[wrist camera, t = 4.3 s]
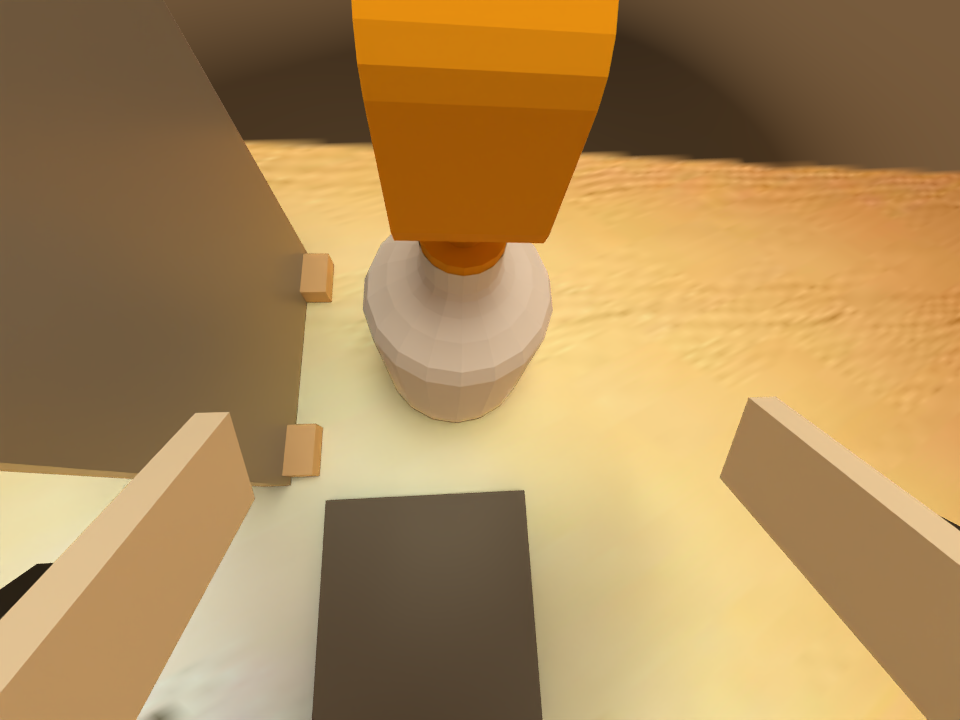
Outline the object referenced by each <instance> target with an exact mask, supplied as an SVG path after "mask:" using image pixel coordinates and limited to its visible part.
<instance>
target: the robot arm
mask: <svg viewBox="0 0 960 720" xmlns="http://www.w3.org/2000/svg"><path fill="white" fill-rule="evenodd" d="M720 479H721V480H722V481H723V482H724V483H725V484H726V486H727V487H728V488H729V489H730V490H731V491H732V493H733V494H734V495H735V496H736V497H737V498H738V499H739V501H740V502H741V503H742V504H743V505H744V506H745V508H746V509H747V510H748V511H749V512H750V513H751V515H752V516H753V517H754V518H755V519H756V520H757V522H758V523H759V524H760V525H761V526H762V527H763V529H764V530H765V531H766V532H767V533H768V534H769V536H770V537H771V538H772V539H773V540H774V541H775V543H776V544H777V545H778V546H779V547H780V548H781V550H782V551H783V552H784V553H785V554H786V555H787V557H788V558H789V559H790V560H791V561H792V562H793V564H794V565H795V566H796V567H797V568H798V569H799V571H800V572H801V573H802V574H803V575H804V576H805V578H806V579H807V580H808V581H809V582H810V583H811V585H812V586H813V587H814V588H815V589H816V590H817V592H818V593H819V594H820V595H821V596H822V597H823V598H824V600H825V601H826V602H827V603H828V604H829V605H830V607H831V608H832V609H833V610H834V611H835V612H836V614H837V615H838V616H839V617H840V618H841V619H842V621H843V622H844V623H845V624H846V625H847V626H848V628H849V629H850V630H851V631H852V632H853V633H854V635H855V636H856V637H857V638H858V639H859V640H860V642H861V643H862V644H863V645H864V646H865V647H866V649H867V650H868V651H869V652H870V653H871V654H872V656H873V657H874V658H875V659H876V660H877V661H878V663H879V664H880V665H881V666H882V667H883V668H884V670H885V671H886V672H887V673H888V674H889V675H890V677H891V678H892V679H893V680H894V681H895V682H896V684H897V685H898V686H899V687H900V688H901V689H902V691H903V692H904V693H905V694H906V695H907V696H908V698H909V699H910V700H911V701H912V702H913V703H914V704H915V706H916V707H917V708H918V709H919V710H920V711H921V713H922V714H923V715H924V716H925V717H926V718H927V720H960V526H958V525H956V524H954V523H952V522H950V521H948V520H947V519H945V518H943V517H941V516H939V515H937V514H936V513H935V512H933V511H932V510H931V509H929V508H928V507H926V506H925V505H924V504H922V503H921V502H920V501H918V500H917V499H915V498H914V497H913V496H911V495H910V494H909V493H907V492H906V491H904V490H903V489H902V488H900V487H899V486H898V485H896V484H895V483H893V482H892V481H891V480H889V479H888V478H887V477H885V476H884V475H883V474H881V473H880V472H878V471H877V470H876V469H874V468H873V467H872V466H870V465H869V464H867V463H866V462H865V461H863V460H862V459H861V458H859V457H858V456H856V455H855V454H854V453H852V452H851V451H850V450H848V449H847V448H845V447H844V446H843V445H841V444H840V443H839V442H837V441H836V440H834V439H833V438H832V437H830V436H829V435H828V434H826V433H825V432H823V431H822V430H821V429H819V428H818V427H817V426H815V425H814V424H813V423H811V422H810V421H808V420H807V419H806V418H804V417H803V416H802V415H800V414H799V413H797V412H796V411H795V410H793V409H792V408H791V407H789V406H788V405H786V404H785V403H784V402H782V401H781V400H780V399H778V398H777V397H749V398H748V401H747V404H746V406H745V409H744V412H743V415H742V417H741V420H740V423H739V426H738V428H737V431H736V434H735V437H734V439H733V442H732V445H731V448H730V450H729V453H728V456H727V459H726V461H725V464H724V467H723V470H722V472H721V475H720ZM254 499H255V497H254V494H253V490H252V487H251V484H250V480H249V477H248V474H247V470H246V467H245V463H244V460H243V457H242V453H241V450H240V446H239V443H238V440H237V436H236V433H235V430H234V426H233V423H232V419H231V416H230V413H229V412H211V413H195V414H194V415H193V416H192V417H191V418H190V419H189V420H188V421H187V422H186V423H185V424H184V425H183V427H182V428H181V429H180V430H179V431H178V432H177V433H176V434H175V435H174V436H173V437H172V438H171V439H170V440H169V441H168V442H167V444H166V445H165V446H164V447H163V448H162V449H161V450H160V451H159V452H158V453H157V454H156V455H155V456H154V457H153V458H152V459H151V460H150V462H149V463H148V464H147V465H146V466H145V467H144V468H143V469H142V470H141V471H140V472H139V473H138V474H137V475H136V476H135V477H134V479H133V480H132V481H131V482H130V483H129V484H128V485H127V486H126V487H125V488H124V489H123V490H122V491H121V492H120V493H119V494H118V495H117V497H116V498H115V499H114V500H113V501H112V502H111V503H110V504H109V505H108V506H107V507H106V508H105V509H104V510H103V511H102V512H101V514H100V515H99V516H98V517H97V518H96V519H95V520H94V521H93V522H92V523H91V524H90V525H89V526H88V527H87V528H86V529H85V530H84V532H83V533H82V534H81V535H80V536H79V537H78V538H77V539H76V540H75V541H74V542H73V543H72V544H71V545H70V546H69V547H68V549H67V550H66V551H65V552H64V553H63V554H62V555H61V556H60V557H59V558H58V559H57V560H56V561H55V562H54V563H45V564H36V565H35V566H33V567H32V568H30V569H29V570H28V571H26V572H25V573H23V574H22V575H20V576H19V577H18V578H16V579H15V580H13V581H12V582H10V583H9V584H7V585H6V586H5V587H3V588H2V589H0V720H136V719H137V717H138V715H139V713H140V711H141V709H142V708H143V706H144V704H145V702H146V700H147V698H148V696H149V695H150V693H151V691H152V689H153V687H154V685H155V683H156V682H157V680H158V678H159V676H160V674H161V672H162V670H163V669H164V667H165V665H166V663H167V661H168V659H169V657H170V656H171V654H172V652H173V650H174V648H175V646H176V644H177V642H178V641H179V639H180V637H181V635H182V633H183V631H184V629H185V628H186V626H187V624H188V622H189V620H190V618H191V616H192V615H193V613H194V611H195V609H196V607H197V605H198V603H199V602H200V600H201V598H202V596H203V594H204V592H205V590H206V589H207V587H208V585H209V583H210V581H211V579H212V577H213V575H214V574H215V572H216V570H217V568H218V566H219V564H220V562H221V561H222V559H223V557H224V555H225V553H226V551H227V549H228V548H229V546H230V544H231V542H232V540H233V538H234V536H235V535H236V533H237V531H238V529H239V527H240V525H241V523H242V522H243V520H244V518H245V516H246V514H247V512H248V510H249V509H250V507H251V505H252V503H253V501H254Z"/></svg>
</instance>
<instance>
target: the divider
mask: <svg viewBox="0 0 960 720" xmlns="http://www.w3.org/2000/svg"><path fill="white" fill-rule="evenodd" d="M333 272H334V264H333V262H332V260H331V258H330V256H329V254H308V253H307V252H306V250H305V248H304V246H303V245H302V243H301V241H300V239H299V238H298V236H297V234H296V232H295V231H294V229H293V227H292V225H291V224H290V222H289V220H288V218H287V217H286V215H285V213H284V211H283V210H282V208H281V206H280V204H279V202H278V201H277V199H276V197H275V195H274V194H273V192H272V190H271V188H270V187H269V185H268V183H267V181H266V180H265V178H264V176H263V174H262V173H261V171H260V169H259V167H258V166H257V164H256V162H255V160H254V159H253V157H252V155H251V153H250V152H249V150H248V148H247V146H246V145H245V143H244V141H243V139H242V137H241V136H240V134H239V132H238V131H237V129H236V127H235V125H234V124H233V122H232V120H231V118H230V116H229V115H228V113H227V111H226V109H225V108H224V106H223V104H222V102H221V101H220V99H219V97H218V95H217V94H216V92H215V90H214V88H213V87H212V85H211V83H210V81H209V80H208V78H207V76H206V74H205V73H204V71H203V69H202V68H201V65H200V64H199V62H198V60H197V58H196V57H195V55H194V54H193V51H192V50H191V48H190V46H189V45H188V43H187V41H186V39H185V37H184V36H183V34H182V32H181V30H180V29H179V27H178V25H177V23H176V22H175V20H174V18H173V16H172V15H171V13H170V11H169V9H168V8H167V6H166V4H165V2H164V1H163V0H0V471H8V472H25V473H42V474H59V475H75V476H92V477H109V478H126V479H134V477H135V476H136V475H137V474H138V473H139V472H140V471H141V470H142V469H143V468H144V467H145V466H146V465H147V464H148V463H149V462H150V460H151V459H152V458H153V457H154V456H155V455H156V454H157V453H158V452H159V451H160V450H161V449H162V448H163V447H164V446H165V445H166V444H167V442H168V441H169V440H170V439H171V438H172V437H173V436H174V435H175V434H176V433H177V432H178V431H179V430H180V429H181V428H182V427H183V425H184V424H185V423H186V422H187V421H188V420H189V419H190V418H191V417H192V416H193V415H194V414H195V413H211V412H229V413H230V416H231V419H232V423H233V426H234V430H235V433H236V436H237V440H238V443H239V446H240V450H241V453H242V457H243V460H244V463H245V467H246V470H247V474H248V477H249V480H250V484H251V486H260V487H268V486H289V485H291V477H303V476H319V475H320V461H321V446H322V432H323V428H322V427H321V426H319V425H317V424H296V418H297V407H298V396H299V385H300V373H301V362H302V351H303V340H304V329H305V317H306V306H307V302H331V301H332V286H333Z"/></svg>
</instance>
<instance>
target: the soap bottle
mask: <svg viewBox="0 0 960 720" xmlns="http://www.w3.org/2000/svg"><path fill="white" fill-rule="evenodd" d="M618 1H619V0H352V17H353V26H354V37H355V46H356V56H357V65H358V71H359V77H360V83H361V89H362V95H363V101H364V106H365V110H366V115H367V120H368V125H369V129H370V134H371V139H372V144H373V149H374V153H375V158H376V163H377V168H378V173H379V177H380V182H381V187H382V192H383V197H384V201H385V206H386V211H387V216H388V220H389V225H390V230H391V235H390V236H389V237H388V238H387V239H386V240H385V241H384V242H383V243H382V244H381V245H380V248H379V250H378V252H377V254H376V256H375V258H374V260H373V262H372V264H371V266H370V268H369V270H368V273H367V275H366V278H365V284H364V300H363V311H364V314H365V317H366V320H367V323H368V326H369V329H370V332H371V335H372V337H373V340H374V342H375V344H376V347H377V349H378V351H379V353H380V355H381V357H382V360H383V362H384V364H385V366H386V368H387V370H388V373H389V375H390V377H391V379H392V381H393V383H394V385H395V388H396V390H397V391H398V392H399V393H400V394H401V395H402V397H403V398H404V399H405V400H406V401H407V402H408V404H409V405H410V406H411V407H412V408H414V409H416V410H418V411H419V412H421V413H423V414H425V415H427V416H428V417H430V418H432V419H438V420H444V421H450V422H461V421H466V420H471V419H476V418H480V417H482V416H484V415H485V414H487V413H489V412H490V411H492V410H494V409H495V408H497V407H499V406H500V405H501V404H502V402H503V401H504V400H505V399H506V397H507V396H508V395H509V394H510V392H511V391H512V390H513V389H514V387H515V385H516V384H517V382H518V381H519V379H520V377H521V376H522V374H523V372H524V371H525V369H526V368H527V366H528V364H529V363H530V361H531V359H532V358H533V356H534V355H535V353H536V351H537V350H538V348H539V347H540V345H541V343H542V342H543V340H544V338H545V334H546V331H547V328H548V324H549V321H550V317H551V314H552V311H553V309H552V298H551V288H550V280H549V276H548V272H547V270H546V268H545V266H544V264H543V262H542V260H541V258H540V256H539V254H538V252H537V250H536V248H535V246H534V245H533V244H532V243H544V242H545V241H546V239H547V238H548V236H549V234H550V232H551V229H552V226H553V224H554V221H555V219H556V216H557V214H558V211H559V209H560V206H561V203H562V201H563V198H564V196H565V193H566V191H567V188H568V185H569V183H570V180H571V178H572V175H573V173H574V170H575V168H576V165H577V162H578V160H579V157H580V155H581V152H582V150H583V147H584V144H585V142H586V139H587V137H588V134H589V132H590V129H591V126H592V124H593V121H594V119H595V116H596V114H597V111H598V108H599V105H600V102H601V98H602V95H603V92H604V89H605V85H606V82H607V79H608V74H609V69H610V63H611V58H612V52H613V47H614V42H615V37H616V27H617V14H618Z"/></svg>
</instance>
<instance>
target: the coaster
mask: <svg viewBox="0 0 960 720" xmlns="http://www.w3.org/2000/svg"><path fill="white" fill-rule="evenodd" d="M312 720H542V709H541V696H540V683H539V671H538V658H537V645H536V633H535V620H534V607H533V594H532V582H531V569H530V556H529V544H528V531H527V518H526V506H525V493H524V490H522V491H503V492H483V493H464V494H444V495H424V496H405V497H385V498H366V499H346V500H327V501H326V506H325V522H324V538H323V554H322V570H321V586H320V602H319V618H318V634H317V649H316V665H315V681H314V697H313V713H312Z"/></svg>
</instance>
